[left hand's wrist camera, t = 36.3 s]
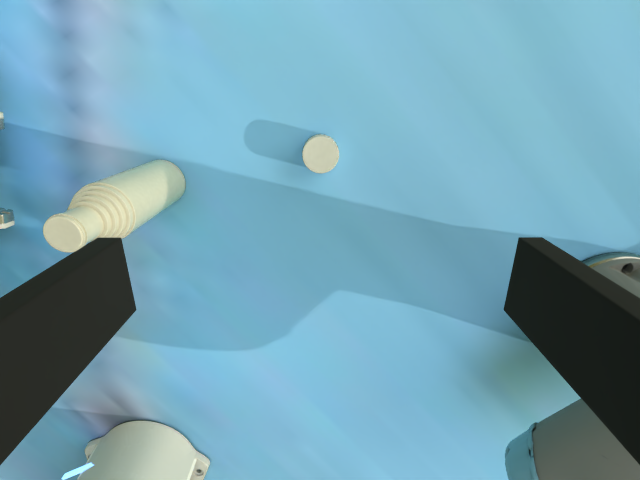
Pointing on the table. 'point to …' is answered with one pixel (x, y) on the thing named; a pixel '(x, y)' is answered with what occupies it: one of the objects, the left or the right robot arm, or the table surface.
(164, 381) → the table surface
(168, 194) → the bottle
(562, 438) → the left robot arm
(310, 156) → the cap
